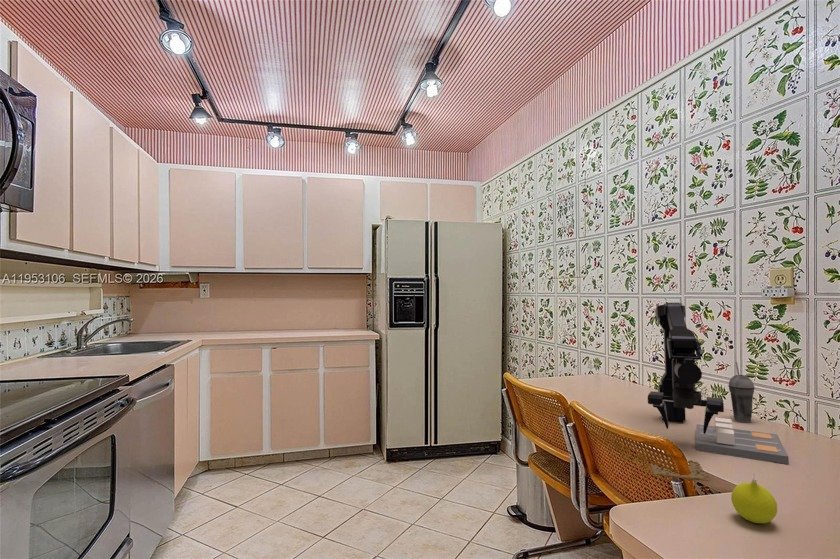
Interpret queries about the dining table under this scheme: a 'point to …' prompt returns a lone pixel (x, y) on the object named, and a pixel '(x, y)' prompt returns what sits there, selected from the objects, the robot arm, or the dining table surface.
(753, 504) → the ornament
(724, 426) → the slider middle
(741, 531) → the dining table surface
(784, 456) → the switch panel
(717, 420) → the slider far
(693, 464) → the speckled tan slab
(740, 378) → the beverage cup
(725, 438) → the slider near
